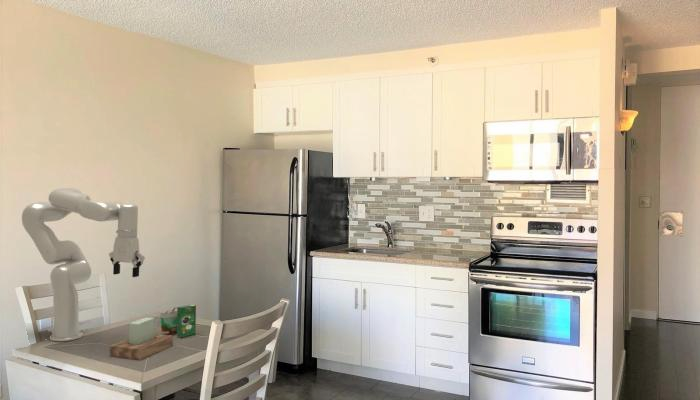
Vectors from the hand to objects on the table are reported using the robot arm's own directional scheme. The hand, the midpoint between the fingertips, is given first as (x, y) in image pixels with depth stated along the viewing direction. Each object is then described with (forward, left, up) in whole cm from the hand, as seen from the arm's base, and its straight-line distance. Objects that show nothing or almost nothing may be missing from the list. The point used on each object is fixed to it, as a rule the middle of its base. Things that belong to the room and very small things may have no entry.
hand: (126, 275), depth 234 cm
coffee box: (+16, +18, -29) cm, 38 cm away
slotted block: (+12, -6, -28) cm, 31 cm away
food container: (+8, +20, -29) cm, 36 cm away
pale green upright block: (+12, -6, -28) cm, 32 cm away
